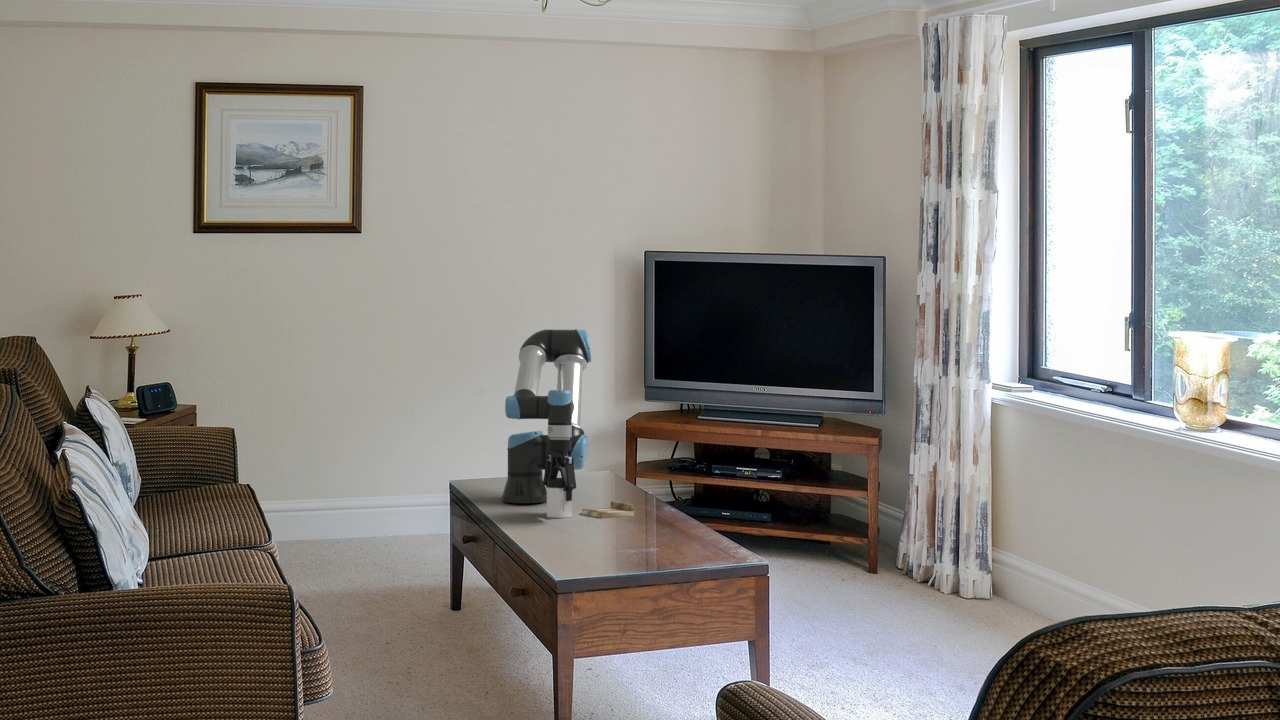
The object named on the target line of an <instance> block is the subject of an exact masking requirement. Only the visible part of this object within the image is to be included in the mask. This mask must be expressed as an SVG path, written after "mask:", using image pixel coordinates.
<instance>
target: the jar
mask: <svg viewBox="0 0 1280 720" xmlns="http://www.w3.org/2000/svg"><path fill="white" fill-rule="evenodd" d="M563 489H564V484H563V480H562V477H557V478H548V479H547V488H546V491H547V501H546V518H551V519H552V518H553V519H566V518H568V519H569V518H572V516H573V512H572V511H573V510H572V511H569V512H563Z"/></svg>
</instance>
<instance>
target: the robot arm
mask: <svg viewBox="0 0 1280 720" xmlns="http://www.w3.org/2000/svg"><path fill="white" fill-rule="evenodd" d="M518 360H519V367H518V372H517V378H516V383H515V387H514V392H513V395H508V396H506V397H505V404H504V412H505V416H506V418H507V419H510V420H511V419H512V420H513V419H514V420H547V429H546V430H547V434H544V433H543V430H536V431H535V430H533V431H528V432H527V431H526V432H520V433H515V434H511V435H510V436H509V437H508V438H507V449H506V450H507V480H506V482H505V485H504V489H503V491H502V494H501V500H502V502H503V503H509V504H537V503H538V504H539V503H547V479H548V478H558V474H559V472H560V475H561V478H562V480H563V484H564V489H563V512H569V511H573V507H572V506H573V505H572V504H573V503H572V501H573V491H574V490H575V489H577V482H576V473H575V470H579V471H580V470H582V469H583V468H584V467H585V465H586V462H587V457H588V451H589V449H588V448H589V436H588V435H586V434H585V431H584V429H583V427H581V414H582V413H581V411H582V394H583V393H582V388H583V372H584V370H585V369H586V368H587V366H588V363H591V362H592V353H591V343H590V336H589V332H588V331H587V330H585V329H577V328H575V329H542V330H538V331H536V332H535V333H533V334H531V335H530V336H529V337H528V338H526V339H525V341H524V342H523V344H522V345H521V347H520V349H519V353H518ZM545 363H553V365H554V367H555V369H557V383H556V389H550V390H549V391H548V393H547V395H538V391H539V388H540V386H539V385H540V382H541V374H542V369H543V366H544V365H545ZM543 471H544V475H543Z"/></svg>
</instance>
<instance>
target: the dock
mask: <svg viewBox="0 0 1280 720" xmlns="http://www.w3.org/2000/svg"><path fill="white" fill-rule="evenodd" d="M581 511H582V513H583V514H582V515H584V514H585V515H584V516H589V517H594V518H599V519H610V518H620V517H621V518H622V517H623V518H624V517H635V504H632V503H626V502H625V503H624V502H619V501H610V507H605V508H603V507H602V508H582V510H581Z"/></svg>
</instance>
